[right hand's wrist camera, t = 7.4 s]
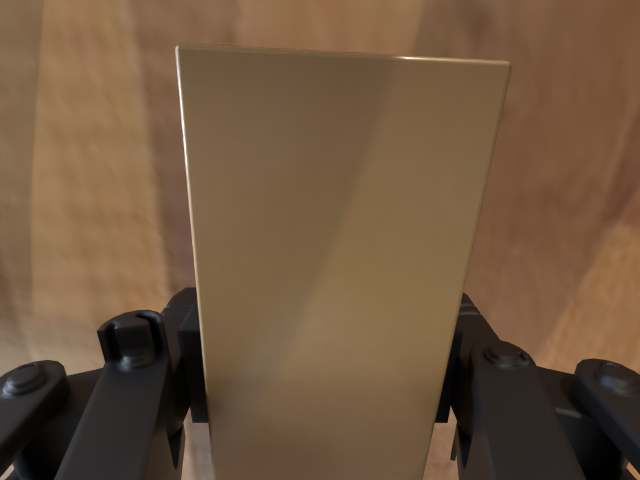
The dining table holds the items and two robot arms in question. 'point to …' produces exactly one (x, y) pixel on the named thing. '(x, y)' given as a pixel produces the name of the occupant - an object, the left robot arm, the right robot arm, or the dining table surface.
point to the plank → (331, 248)
